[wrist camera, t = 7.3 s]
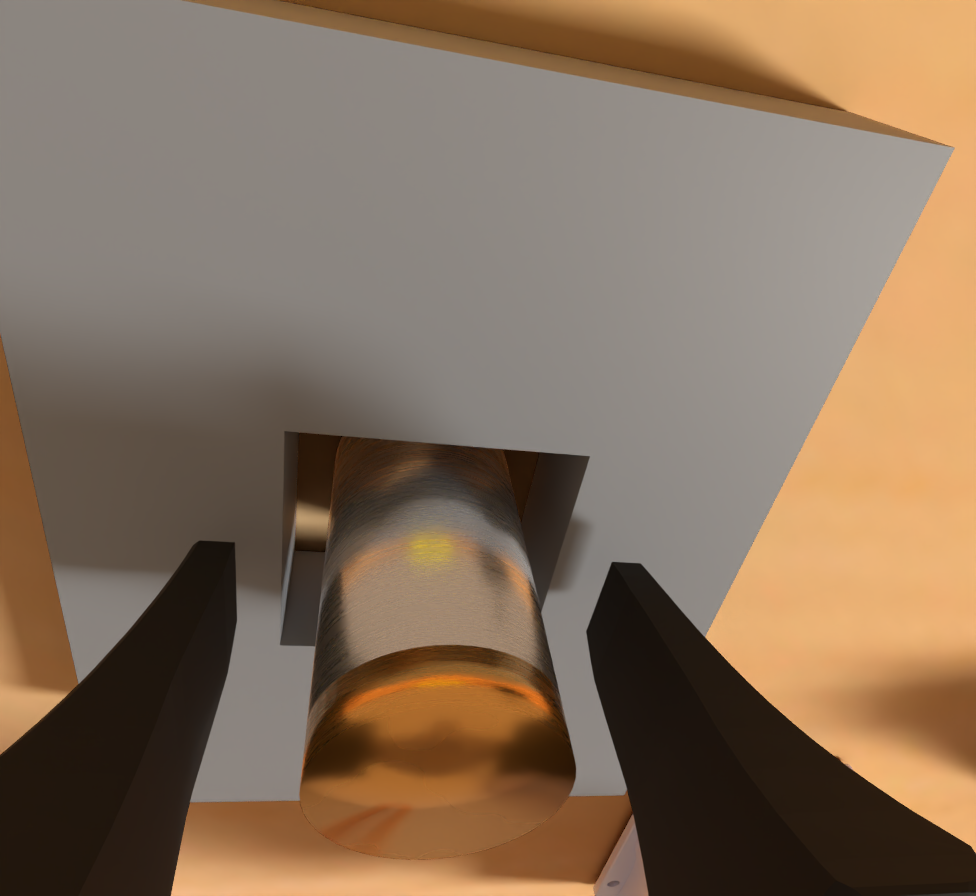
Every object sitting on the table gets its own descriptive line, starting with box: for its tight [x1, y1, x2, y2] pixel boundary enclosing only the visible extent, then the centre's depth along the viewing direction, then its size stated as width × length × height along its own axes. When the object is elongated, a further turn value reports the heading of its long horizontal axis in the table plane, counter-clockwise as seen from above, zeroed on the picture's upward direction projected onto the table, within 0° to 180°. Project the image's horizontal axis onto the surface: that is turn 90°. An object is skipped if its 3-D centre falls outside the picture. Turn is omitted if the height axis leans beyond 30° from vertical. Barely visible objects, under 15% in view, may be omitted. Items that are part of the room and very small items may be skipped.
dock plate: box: [0, 0, 954, 802], centre depth 16 cm, size 18×14×3 cm
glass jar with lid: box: [299, 436, 576, 860], centre depth 14 cm, size 4×4×8 cm
